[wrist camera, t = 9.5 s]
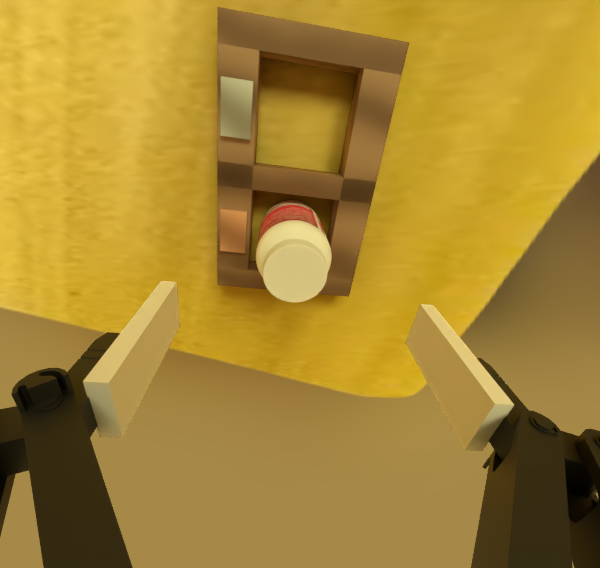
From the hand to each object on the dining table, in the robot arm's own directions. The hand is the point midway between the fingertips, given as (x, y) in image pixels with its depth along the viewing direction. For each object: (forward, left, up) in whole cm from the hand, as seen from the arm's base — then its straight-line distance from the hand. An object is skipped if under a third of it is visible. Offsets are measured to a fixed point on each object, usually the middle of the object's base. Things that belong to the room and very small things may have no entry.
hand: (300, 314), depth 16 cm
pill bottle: (0, 0, -17) cm, 17 cm away
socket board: (-5, 0, -16) cm, 17 cm away
